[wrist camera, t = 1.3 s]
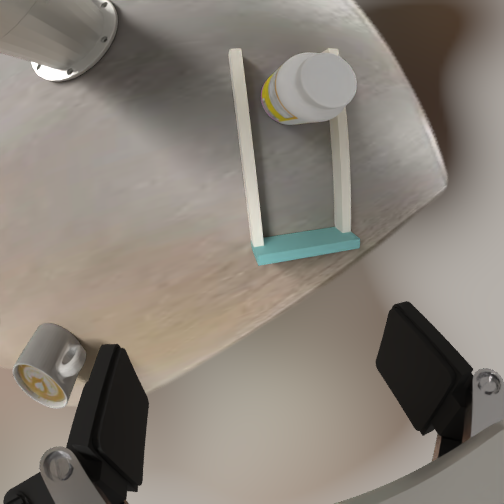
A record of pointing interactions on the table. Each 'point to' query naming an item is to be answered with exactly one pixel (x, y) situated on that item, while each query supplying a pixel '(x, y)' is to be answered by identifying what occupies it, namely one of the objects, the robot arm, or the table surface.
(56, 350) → the coffee mug
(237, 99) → the guide track
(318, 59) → the supplement bottle
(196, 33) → the table surface
